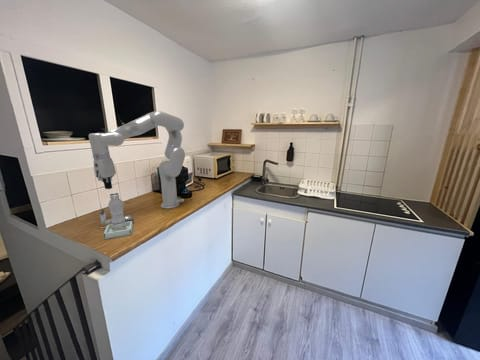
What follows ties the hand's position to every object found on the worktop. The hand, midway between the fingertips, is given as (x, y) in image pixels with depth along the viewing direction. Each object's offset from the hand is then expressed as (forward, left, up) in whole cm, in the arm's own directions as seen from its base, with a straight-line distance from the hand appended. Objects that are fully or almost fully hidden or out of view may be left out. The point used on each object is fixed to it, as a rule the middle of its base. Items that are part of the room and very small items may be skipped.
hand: (108, 188), depth 112 cm
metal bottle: (-5, +17, -19) cm, 26 cm away
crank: (-3, +8, -17) cm, 19 cm away
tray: (-5, +17, -20) cm, 27 cm away
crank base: (-3, +8, -20) cm, 21 cm away
